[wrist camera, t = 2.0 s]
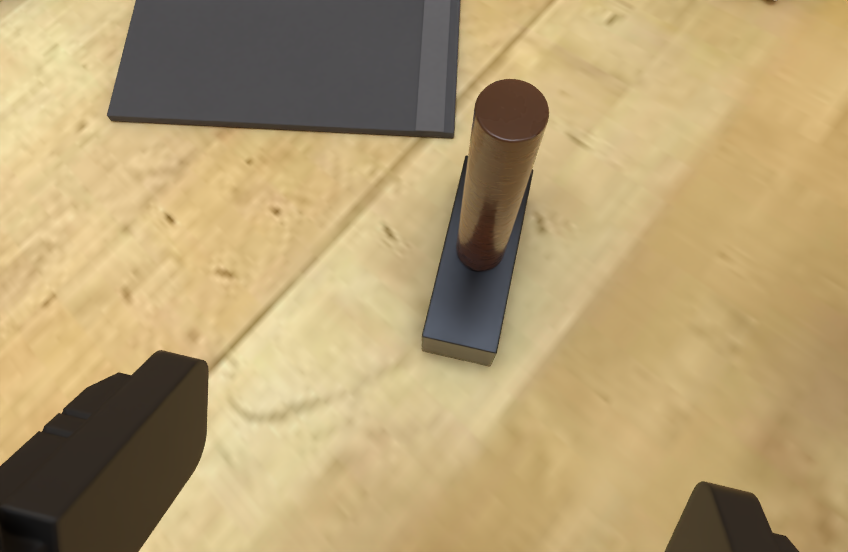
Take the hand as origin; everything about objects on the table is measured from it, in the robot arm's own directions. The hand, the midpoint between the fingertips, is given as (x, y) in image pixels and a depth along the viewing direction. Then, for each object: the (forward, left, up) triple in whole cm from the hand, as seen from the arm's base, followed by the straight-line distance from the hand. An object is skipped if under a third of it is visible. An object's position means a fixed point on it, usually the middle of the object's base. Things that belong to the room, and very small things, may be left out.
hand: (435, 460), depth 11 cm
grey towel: (+9, -27, -22) cm, 36 cm away
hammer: (-2, -11, -22) cm, 25 cm away
